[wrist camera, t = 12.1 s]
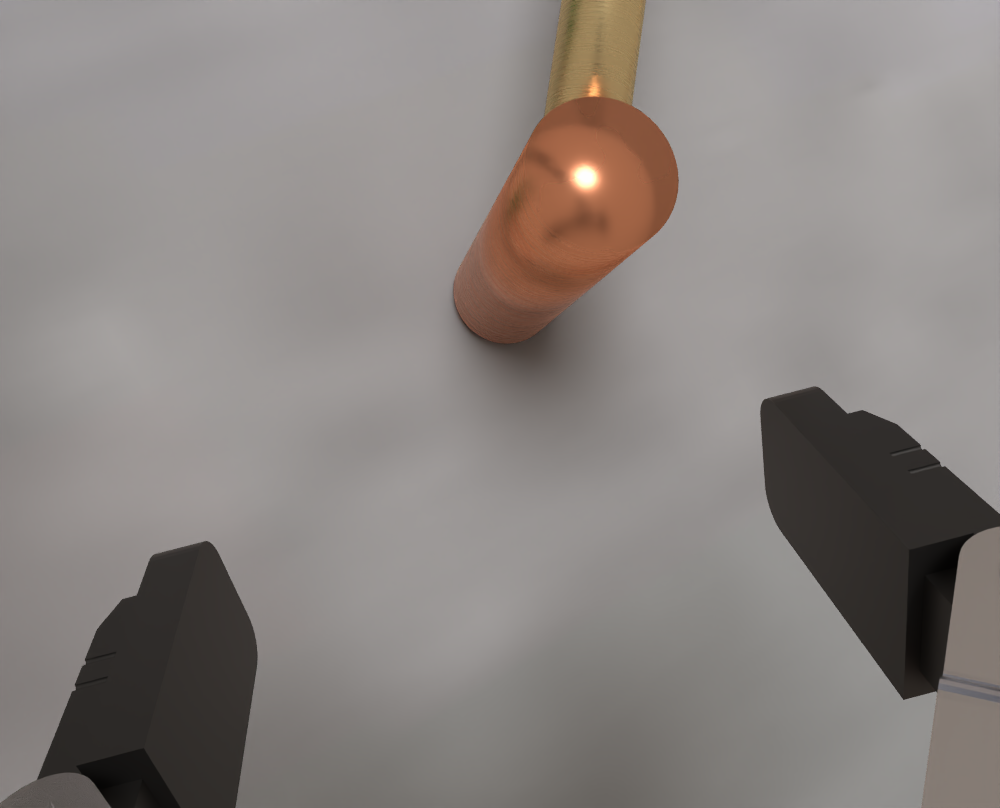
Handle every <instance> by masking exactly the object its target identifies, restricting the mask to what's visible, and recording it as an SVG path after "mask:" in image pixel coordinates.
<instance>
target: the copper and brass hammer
mask: <svg viewBox="0 0 1000 808" xmlns="http://www.w3.org/2000/svg"><path fill="white" fill-rule="evenodd" d="M645 3H646V0H562V2H561V8H560V15H559V22H558V28H557V35H556V42H555V48H554V55H553V61H552V68H551V75H550V81H549V88H548V95H547V101H546V108H545V114H544V118H543V119H542V120H541V121H540V122H539V124H538V125H537V126H536V128H535V129H534V131H533V133H532V135H531V137H530V139H529V140H528V142H527V144H526V146H525V148H524V150H523V151H522V153H521V155H520V157H519V159H518V161H517V162H516V164H515V166H514V168H513V170H512V172H511V173H510V175H509V177H508V179H507V181H506V183H505V184H504V186H503V188H502V190H501V192H500V194H499V195H498V197H497V199H496V201H495V203H494V205H493V206H492V208H491V210H490V212H489V214H488V216H487V217H486V219H485V221H484V223H483V225H482V227H481V228H480V230H479V232H478V234H477V236H476V238H475V239H474V241H473V243H472V245H471V247H470V249H469V250H468V252H467V254H466V256H465V258H464V260H463V261H462V263H461V265H460V267H459V269H458V271H457V274H456V276H455V281H454V289H453V290H454V300H455V304H456V308H457V310H458V312H459V315H460V316H461V318H462V320H463V321H464V322H465V324H466V325H467V326H468V327H469V328H470V329H471V330H472V331H473V332H475V333H476V334H477V335H479V336H481V337H482V338H484V339H487V340H489V341H492V342H496V343H503V344H510V343H517V342H521V341H524V340H526V339H529V338H530V337H532V336H534V335H535V334H536V333H538V332H539V331H540V330H541V329H543V328H544V327H545V326H546V325H547V324H549V323H550V322H551V321H552V320H553V319H554V318H556V317H557V316H558V315H559V314H560V313H562V312H563V311H564V310H565V309H566V308H568V307H569V306H570V305H571V304H572V303H574V302H575V301H576V300H577V299H578V298H580V297H581V296H582V295H583V294H584V293H586V292H587V291H588V290H589V289H590V288H592V287H593V286H594V285H595V284H596V283H598V282H599V281H600V280H601V279H602V278H604V277H605V276H606V275H607V274H608V273H610V272H611V271H612V270H613V269H614V268H615V267H617V266H618V265H619V264H620V263H621V262H623V261H624V260H625V259H626V258H627V257H629V256H630V255H631V254H632V253H633V252H635V251H636V250H637V249H638V248H639V247H641V246H642V245H643V244H644V243H645V242H647V241H648V240H649V239H650V238H651V237H653V236H654V235H655V234H656V233H657V232H658V231H659V230H660V229H661V228H662V227H663V226H664V224H665V223H666V221H667V220H668V218H669V217H670V215H671V213H672V211H673V208H674V205H675V202H676V198H677V193H678V181H679V180H678V169H677V164H676V160H675V157H674V154H673V151H672V149H671V147H670V144H669V142H668V141H667V139H666V137H665V136H664V134H663V133H662V131H661V130H660V129H659V128H658V126H657V125H656V124H655V123H654V122H653V121H652V120H651V119H650V118H649V117H647V116H646V115H645V114H644V113H642V112H641V111H639V110H638V109H636V108H634V107H633V106H632V100H633V92H634V85H635V77H636V70H637V63H638V55H639V48H640V40H641V33H642V25H643V18H644V10H645Z"/></svg>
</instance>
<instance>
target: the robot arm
mask: <svg viewBox="0 0 1000 808" xmlns="http://www.w3.org/2000/svg"><path fill="white" fill-rule="evenodd" d="M760 414H761V431H762V446H763V461H764V476H765V489H766V495H767V500H768V503H769V507H770V510H771V513H772V515H773V518H774V520H775V522H776V524H777V526H778V527H779V529H780V530H781V532H782V533H783V535H784V536H785V537H786V539H787V540H788V542H789V543H790V544H791V546H792V547H793V548H794V550H795V551H796V553H797V554H798V555H799V557H800V558H801V559H802V561H803V562H804V564H805V565H806V566H807V568H808V569H809V570H810V572H811V573H812V575H813V576H814V577H815V579H816V580H817V581H818V583H819V584H820V586H821V587H822V588H823V590H824V591H825V592H826V594H827V595H828V597H829V598H830V599H831V601H832V602H833V603H834V605H835V606H836V608H837V609H838V610H839V612H840V613H841V614H842V616H843V617H844V619H845V620H846V621H847V623H848V624H849V625H850V627H851V628H852V630H853V631H854V632H855V634H856V635H857V636H858V638H859V639H860V641H861V642H862V643H863V645H864V646H865V647H866V649H867V650H868V652H869V653H870V654H871V656H872V657H873V658H874V660H875V661H876V663H877V664H878V665H879V667H880V668H881V669H882V671H883V672H884V674H885V675H886V676H887V678H888V679H889V680H890V682H891V683H892V685H893V686H894V687H895V689H896V690H897V691H898V693H899V694H900V696H901V697H902V698H903V700H905V699H908V698H912V697H916V696H920V695H923V694H927V693H931V692H935V691H936V692H937V699H936V706H935V713H934V720H933V728H932V735H931V742H930V749H929V756H928V763H927V771H926V778H925V785H924V792H923V799H922V807H921V808H1000V514H999V513H998V512H997V511H995V510H994V509H993V508H992V507H991V506H990V505H989V504H987V503H986V502H985V501H984V500H983V499H982V498H981V497H979V496H978V495H977V494H976V493H975V492H974V491H973V490H971V489H970V488H969V487H968V486H967V485H966V484H965V483H963V482H962V481H961V480H960V479H959V478H958V477H957V476H955V475H954V474H953V473H952V472H951V471H950V470H949V469H947V468H946V467H945V466H944V467H941V465H940V462H939V461H938V460H937V459H936V458H935V457H934V456H933V455H931V454H930V453H929V452H928V451H927V450H926V449H923V450H922V449H921V445H920V444H919V443H918V442H917V441H915V440H914V439H913V438H912V437H911V436H910V435H909V434H907V433H906V432H905V431H904V430H903V429H902V428H901V427H899V426H898V425H897V424H895V423H892V422H890V421H888V420H885V419H883V418H880V417H878V416H875V415H873V414H871V413H868V412H866V411H863V410H861V411H857V412H853V413H849V414H847V413H846V412H845V411H844V410H843V409H842V408H841V407H840V406H839V405H838V404H837V403H835V402H834V401H833V400H832V399H831V398H830V397H829V396H828V395H827V394H826V393H825V392H824V391H823V390H821V389H820V388H818V387H810V388H806V389H802V390H799V391H795V392H791V393H787V394H783V395H779V396H775V397H771V398H767V399H764V400H763V402H762V404H761V411H760ZM85 661H86V665H84V666H82V668H81V671H80V673H79V676H78V678H77V681H76V683H75V686H76V691H72V693H71V696H70V698H69V701H68V703H67V706H66V708H65V711H64V713H63V716H62V718H61V721H60V723H59V726H58V728H57V731H56V734H55V736H54V739H53V741H52V744H51V746H50V749H49V751H48V754H47V756H46V759H45V761H44V764H43V766H42V769H41V771H40V774H39V776H38V779H37V780H36V781H34V782H32V783H30V784H28V785H26V786H24V787H23V788H21V789H19V790H18V791H16V792H15V793H13V794H12V795H10V796H9V797H8V798H7V799H5V800H4V801H3V802H1V803H0V808H235V806H236V800H237V793H238V787H239V780H240V774H241V767H242V761H243V754H244V747H245V741H246V734H247V728H248V721H249V715H250V708H251V702H252V695H253V688H254V682H255V675H256V669H257V645H256V639H255V634H254V630H253V627H252V624H251V621H250V619H249V617H248V615H247V612H246V610H245V608H244V606H243V604H242V602H241V600H240V598H239V596H238V594H237V591H236V589H235V587H234V585H233V583H232V581H231V579H230V577H229V575H228V572H227V570H226V568H225V566H224V564H223V562H222V560H221V558H220V556H219V554H218V552H217V550H216V549H215V547H214V546H213V545H212V544H211V543H210V542H208V541H204V542H201V543H197V544H193V545H189V546H185V547H181V548H177V549H173V550H169V551H166V552H162V553H158V554H155V555H153V556H152V557H151V558H150V561H149V563H148V566H147V568H146V571H145V574H144V577H143V580H142V582H141V585H140V588H139V591H138V594H137V596H133V597H129V598H125V599H122V600H121V601H120V603H119V604H118V605H117V606H116V607H115V609H114V610H113V611H112V612H111V613H110V615H109V616H108V617H107V618H106V619H105V621H104V622H103V623H102V624H101V625H100V626H99V628H98V629H97V631H96V633H95V636H94V638H93V641H92V643H91V646H90V648H89V651H88V653H87V656H86V658H85Z"/></svg>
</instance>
